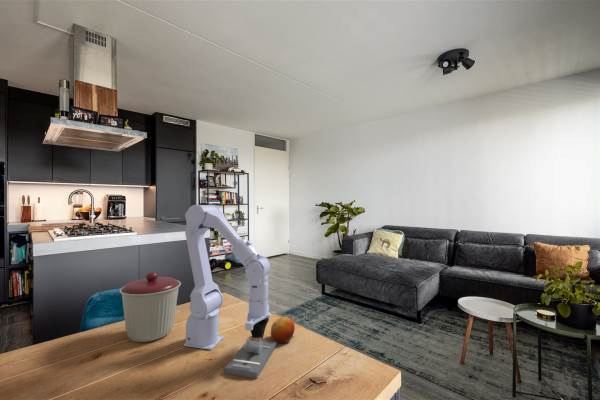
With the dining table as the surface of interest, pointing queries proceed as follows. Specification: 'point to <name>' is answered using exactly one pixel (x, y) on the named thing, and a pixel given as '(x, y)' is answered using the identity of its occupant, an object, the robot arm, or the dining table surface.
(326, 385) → the dining table surface
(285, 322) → the fruit
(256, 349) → the fader cap
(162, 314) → the canister
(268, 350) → the board
